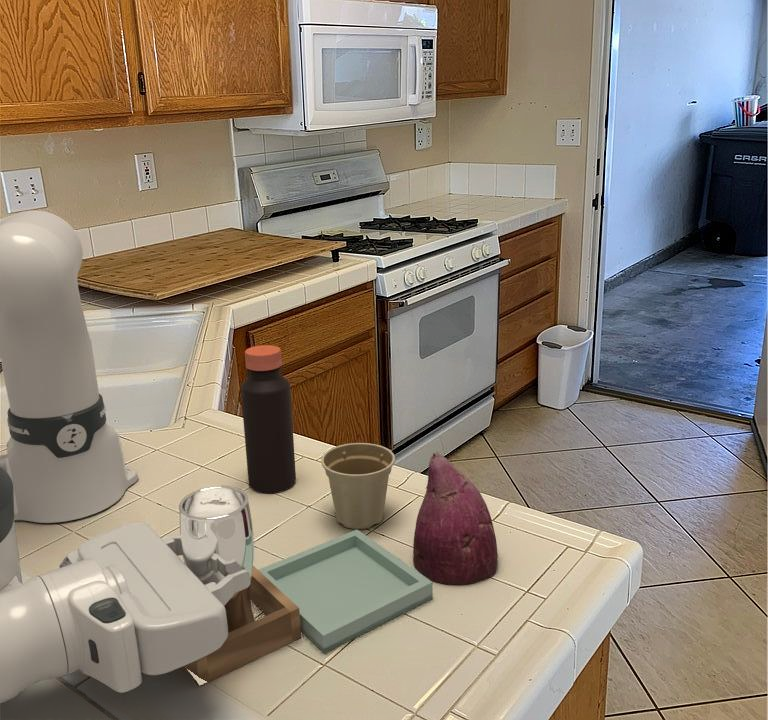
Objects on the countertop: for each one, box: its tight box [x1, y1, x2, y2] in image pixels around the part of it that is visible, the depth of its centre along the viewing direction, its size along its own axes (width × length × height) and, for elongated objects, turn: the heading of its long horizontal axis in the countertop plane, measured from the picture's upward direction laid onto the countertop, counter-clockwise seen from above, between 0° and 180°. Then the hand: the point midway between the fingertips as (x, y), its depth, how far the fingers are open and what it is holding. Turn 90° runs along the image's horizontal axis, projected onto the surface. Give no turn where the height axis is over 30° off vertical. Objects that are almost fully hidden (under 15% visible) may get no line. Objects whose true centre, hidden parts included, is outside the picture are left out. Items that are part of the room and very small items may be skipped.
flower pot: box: [320, 442, 396, 530], centre depth 97 cm, size 9×9×9 cm
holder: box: [183, 565, 302, 683], centre depth 77 cm, size 11×11×4 cm
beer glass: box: [178, 485, 256, 633], centre depth 75 cm, size 7×7×15 cm
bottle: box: [240, 344, 297, 494], centre depth 105 cm, size 7×7×20 cm
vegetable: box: [412, 450, 499, 586], centre depth 87 cm, size 10×10×15 cm
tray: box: [258, 529, 434, 655], centre depth 83 cm, size 14×14×2 cm
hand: (227, 556), depth 75 cm, fingers closed on beer glass, 7 cm apart
